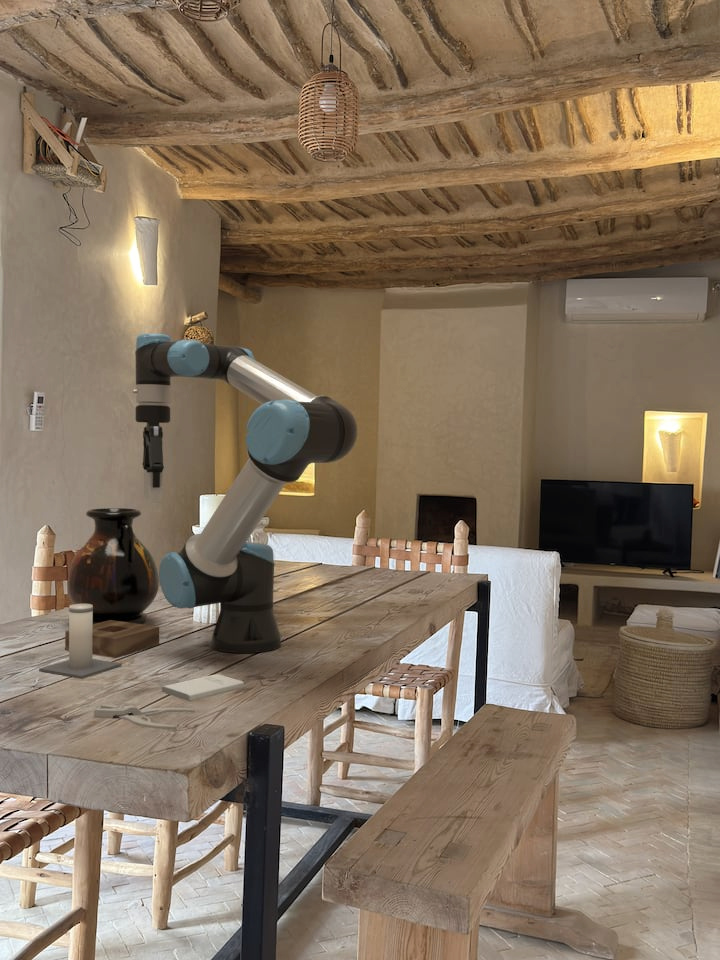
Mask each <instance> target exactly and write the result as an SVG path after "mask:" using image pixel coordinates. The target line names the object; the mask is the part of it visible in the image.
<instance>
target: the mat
mask: <svg viewBox="0 0 720 960" xmlns="http://www.w3.org/2000/svg"><path fill="white" fill-rule="evenodd" d="M122 666H123V665H122V663H121V662H115V661H109V660H104V659H103V660H102V659H96V658H92V666H91V667H89V668H83V669H73V668H70V667H69V659H67V660H63V661H60V662H57V663H54V664H50V665H46V666H42V667H40V668H38V669H39V671H38V672H44V673H48V674H53V673H54V674H55V675H59V674H60V675H61V676H64V675H66V677H70V676H72V677H71V678H76V677H77V679H81V678H82V679H85V678H89V677H91V676H95V675H97V674H101V673H103V672H108V671H110V670H113V669H117V668H119V667H120V668H121V667H122ZM60 675H59V676H60ZM88 676H89V677H88ZM84 677H85V678H84Z"/></svg>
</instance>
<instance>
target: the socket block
mask: <svg viewBox="0 0 720 960" xmlns="http://www.w3.org/2000/svg"><path fill="white" fill-rule="evenodd" d="M64 636H65V637H64V638H65V641H64V645H65V647H64V650H66V651H69V630H65V631H64ZM159 645H160V626H158V625H150V624H136V623H129V622H122V621H114V620H108V621H104V622H100V623H96V624H93V633H92V655H95V656H96V655H97V656H103V657H109V658H119V657H123V656H127V655H130V654H132V653H133V654H134V653H136V651H137V652H139V650H140V651H142V650H146V649H150V648H152V647H156V646H159Z"/></svg>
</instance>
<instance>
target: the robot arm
mask: <svg viewBox="0 0 720 960" xmlns="http://www.w3.org/2000/svg"><path fill="white" fill-rule="evenodd" d="M171 339H172V338H171V336H169V335H168V334H163V333H141V334H138V336H137V337H136V341H135V342H136V343H135V344H136V345H135V346H136V347H135V351H134V355H135V387H136V388H134V389H133V390H132V393H133V394H135V402H136V403H137V404H138V405H136V406H135V418H134V419H135V422H136V423H145V424H146V426H144V427H143V432H142V438H143V444H142V445H143V456H142V468H143V477H142V478H143V479H142V481H143V484H142V487H143V488H142V490H143V492H142V494H143V495H142V496H143V497H142V498H143V499H144V500H146V499H148V503H149V504H163V470H164V469H165V467H164V455H163V454H164V453H163V451H164V450H163V443H164V442H163V438H164V437H163V436H164V431H163V427H162V426H160V424H169V423H170V421H171V407H170V406H169V404H171V402H172V400H171V399H172V395H171V394H172V393H171V389H172V386H171V378H172V377H174V378H176V377H177V378H178V377H181V378H182V377H185V378H196V379H209V380H220V381H224V382H225V383H226V384H228V385H230V386H231V387H234V388H236V389H237V390H238V391H240V392H242V393H243V394H245V396H247V397H249V398H251V399H252V400H254V401H256V402H257V403H259V404H260V406H258V407H257V408H256V409H255V410H254V411H253V413H252V414H251V416H250V418H249V420H248V422H247V425H246V431H247V432H248V433H247V434H245V443H246V455H247V457H248V459H247V461H246V462H245V463H244V466H243V467H242V469H241V471H240V472H239V473H238V475H237V477H235V480H234V481H233V483H232V484H231V486H230V488H229V489H228V491H227V492H226V494H225V495H224V497H223V499H221V502H220V503H219V504H218V505H217V508H215V509H216V510H215V511H214V512H213V514H212V516H211V517H210V518H209V520H208V522H207V523H206V525H205V527H204V528H203V529H202V531H201V533H196V534H193V535H191V536H190V537H189V538H188V540H186V542H185V544H184V545H183V547H182V549H181V550H180V551H178V552H176V551H171V552H169V553H167V554H165V555H164V556H163V557H162V559H161V561H160V564H159V569H158V578H159V584H160V585H159V586H160V588H161V592H162V594H163V596H164V598H165V599H166V602H168V603H169V604H170V605H171V606H172V607H174V608H177V609H193V608H198V607H204V606H209V605H217V604H220V605H219V608H220V609H219V610H220V611H219V614H218V617H217V620H216V623H215V626H214V630H213V633H212V635H211V647H212V648H213V649H215V650H218V651H222V652H227V653H238V654H239V653H241V654H243V653H246V654H248V653H249V654H250V653H251V654H252V653H263V652H269V651H274V650H276V649H278V648H280V647H281V644H282V643H281V640H282V639H281V637H282V636H281V633H280V629H279V626H278V623H277V620H276V616H275V613H274V579H275V574H274V573H275V569H274V568H275V562H274V561H275V560H274V559H275V558H274V549H273V548H272V547H271V546H270V545H269V544H265V543H257V542H249V541H248V540H249V538H250V537H251V535H252V534H253V532H254V531H255V530H256V528H257V527H258V526H259V524H260V522H261V520H263V518H264V516H265V515H266V514H267V512H268V511H269V509H270V507H272V505H273V503H274V501H275V500H276V498H278V496H279V495H280V493H281V491H282V490H283V489H284V487H285V486H286V484H291V483H294V482H297V481H298V480H299V479H300V477H301V476H302V475H303V473H304V472H305V471H306V469H307V468H308V466H309V465H310V464H325V463H326V464H327V463H328V464H330V463H334V462H337V461H340V460H342V459H343V458H345V457H346V456H347V455H348V454H349V453H350V452H351V451H352V449H353V448H354V447H355V444H356V441H357V437H358V425H357V421H356V419H355V416H354V415H353V413H352V412H351V410H349V409H348V408H347V407H346V406H345V405H343V404H341V403H339V402H338V401H336V400H335V399H332V398H331V397H329V396H327V395H318V396H317V395H316V394H315V393H313V392H311V391H309V390H307V389H305V388H304V387H302V386H300V385H299V384H296V383H295V382H294V381H291V380H290V379H288V378H287V377H285V376H283V375H281V374H280V373H278V372H276V371H275V370H273V369H271V368H269V367H268V366H265V365H264V364H262V363H261V362H259V361H257V360H256V357H255V356H254V355H253V352H252V350H250V349H248V348H244V347H240V346H237V345H233V346H232V345H222V344H220V345H219V344H212V343H211V344H210V343H202V342H200V341H199V340H197V339H196V340H195V339H193V340H192V339H181V340H176V341H175V340H174V341H172V340H171Z"/></svg>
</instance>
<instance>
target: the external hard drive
mask: <svg viewBox="0 0 720 960" xmlns="http://www.w3.org/2000/svg"><path fill="white" fill-rule="evenodd" d="M244 686H245V682H244V681H243V680H239V679H235V678H232V677H229V676H226V675H222V674H219V673H216V674H212V675H205V676H202V677H198V678H194V679H188V680H186V681H180V682H176V683H171V684H167V685H164V686H161V692H162V693H163V694H164V693H165V694H168V695H171V696H173V697H177V698H179V699H182V700H185V701H188V702H191V701H195V700H199V699H203V698H207V697H211V696H217V695H219V694H223V693H227V692H228V693H229V692H231V691H235V690H239V689H243V688H245V687H244Z"/></svg>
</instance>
